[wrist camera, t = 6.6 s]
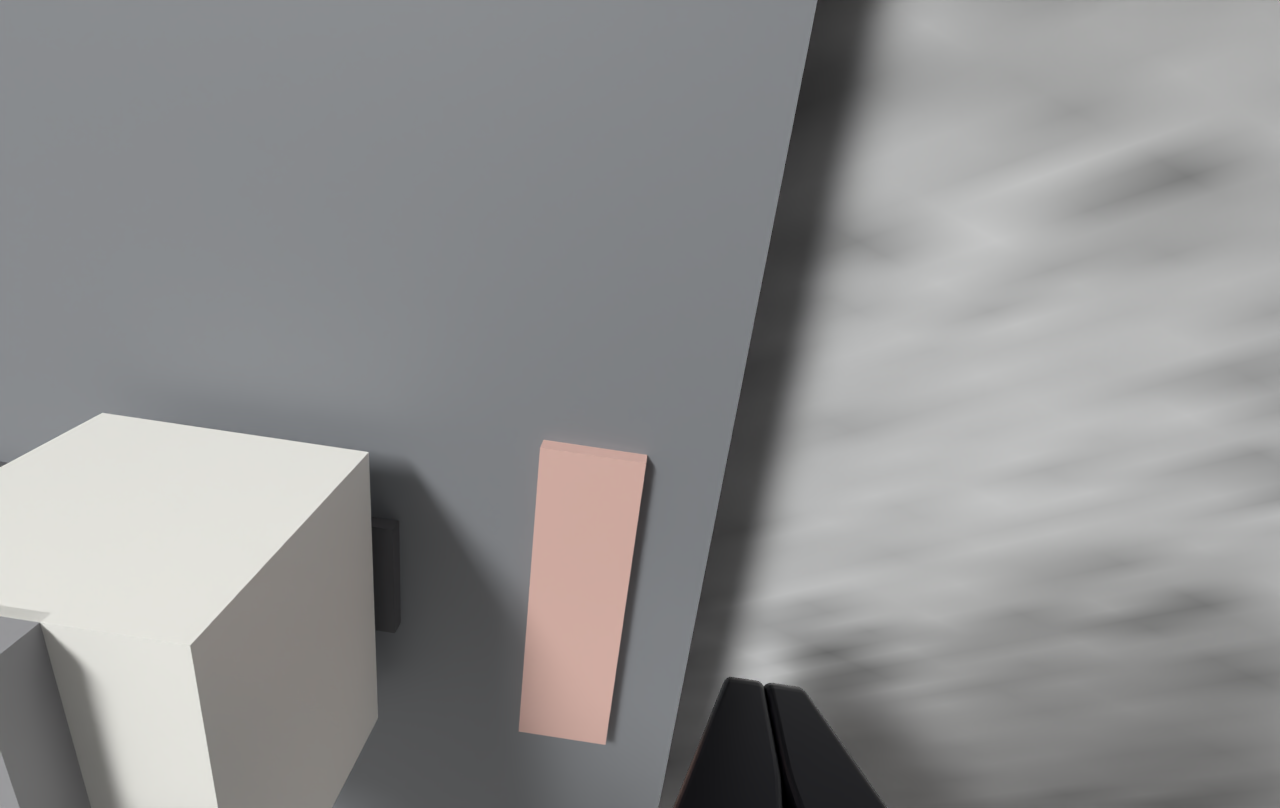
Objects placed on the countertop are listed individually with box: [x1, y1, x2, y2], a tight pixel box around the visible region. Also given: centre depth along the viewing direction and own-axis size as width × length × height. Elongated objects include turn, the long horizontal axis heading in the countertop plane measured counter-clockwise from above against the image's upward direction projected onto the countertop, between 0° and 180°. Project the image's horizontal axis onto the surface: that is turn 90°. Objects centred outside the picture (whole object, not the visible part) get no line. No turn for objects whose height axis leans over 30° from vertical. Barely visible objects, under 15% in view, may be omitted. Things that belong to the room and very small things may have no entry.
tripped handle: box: [0, 413, 378, 808], centre depth 7 cm, size 3×4×4 cm
